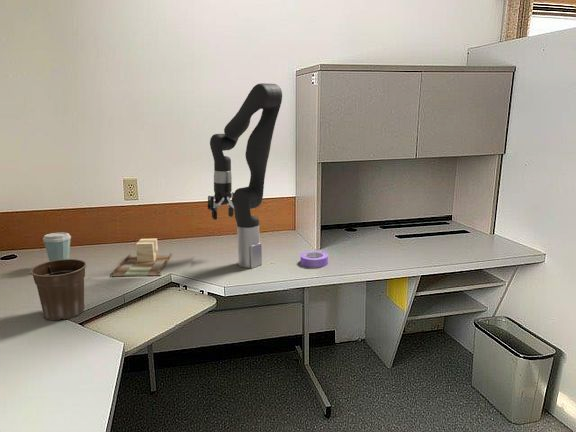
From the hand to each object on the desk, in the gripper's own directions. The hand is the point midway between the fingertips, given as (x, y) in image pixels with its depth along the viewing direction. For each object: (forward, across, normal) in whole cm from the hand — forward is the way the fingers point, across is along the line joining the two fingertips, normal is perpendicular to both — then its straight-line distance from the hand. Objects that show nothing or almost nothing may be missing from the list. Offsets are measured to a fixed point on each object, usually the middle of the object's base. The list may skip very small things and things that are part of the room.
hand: (222, 217), depth 201 cm
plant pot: (+20, -70, -7) cm, 73 cm away
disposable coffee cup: (+21, -55, +41) cm, 71 cm away
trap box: (+20, -30, +15) cm, 39 cm away
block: (+18, -25, +21) cm, 37 cm away
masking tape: (+17, +22, -34) cm, 44 cm away
